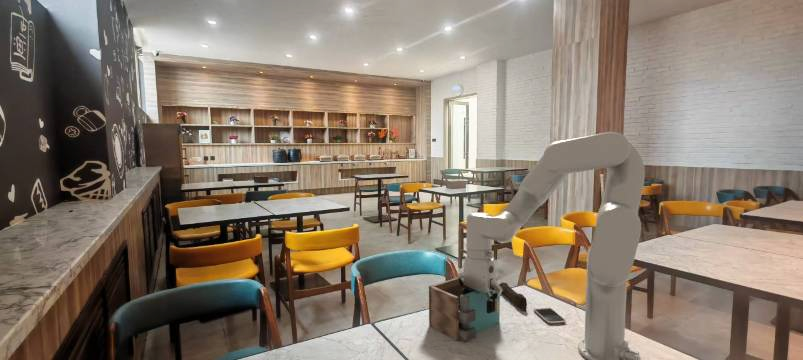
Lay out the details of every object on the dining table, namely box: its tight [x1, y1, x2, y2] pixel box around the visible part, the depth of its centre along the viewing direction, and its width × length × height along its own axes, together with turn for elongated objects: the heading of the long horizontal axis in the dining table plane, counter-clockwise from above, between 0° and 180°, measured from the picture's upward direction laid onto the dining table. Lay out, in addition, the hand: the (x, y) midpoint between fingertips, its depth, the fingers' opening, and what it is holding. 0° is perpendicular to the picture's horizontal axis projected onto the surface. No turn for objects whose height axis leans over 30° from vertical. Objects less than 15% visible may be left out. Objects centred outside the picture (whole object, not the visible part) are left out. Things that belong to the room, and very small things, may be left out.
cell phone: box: [533, 307, 567, 325], centre depth 128 cm, size 6×11×1 cm, turn 7°
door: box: [460, 289, 501, 333], centre depth 120 cm, size 3×16×12 cm, turn 127°
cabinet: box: [428, 277, 477, 343], centre depth 123 cm, size 14×21×13 cm
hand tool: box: [498, 282, 528, 312], centre depth 141 cm, size 19×4×5 cm, turn 7°
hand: (478, 307), depth 120 cm, fingers open, 9 cm apart
